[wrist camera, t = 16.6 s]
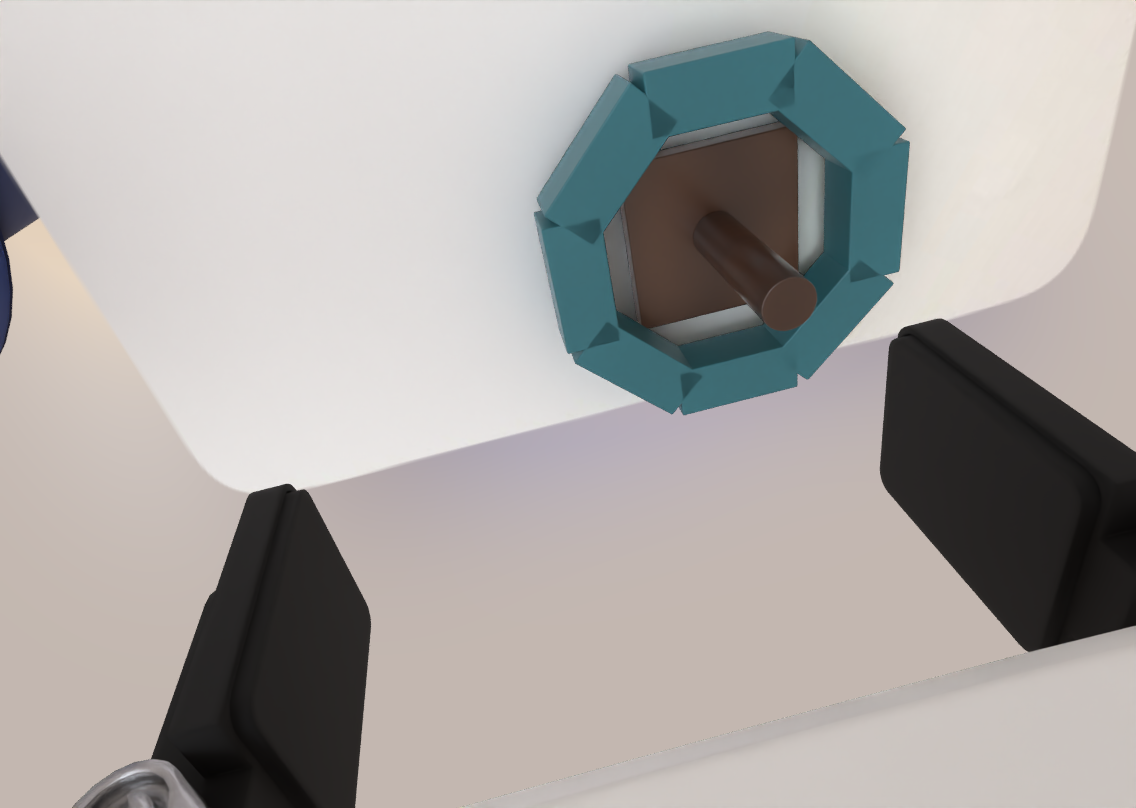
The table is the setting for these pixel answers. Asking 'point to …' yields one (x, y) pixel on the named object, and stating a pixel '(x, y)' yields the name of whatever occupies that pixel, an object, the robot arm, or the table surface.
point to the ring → (696, 101)
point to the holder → (719, 231)
